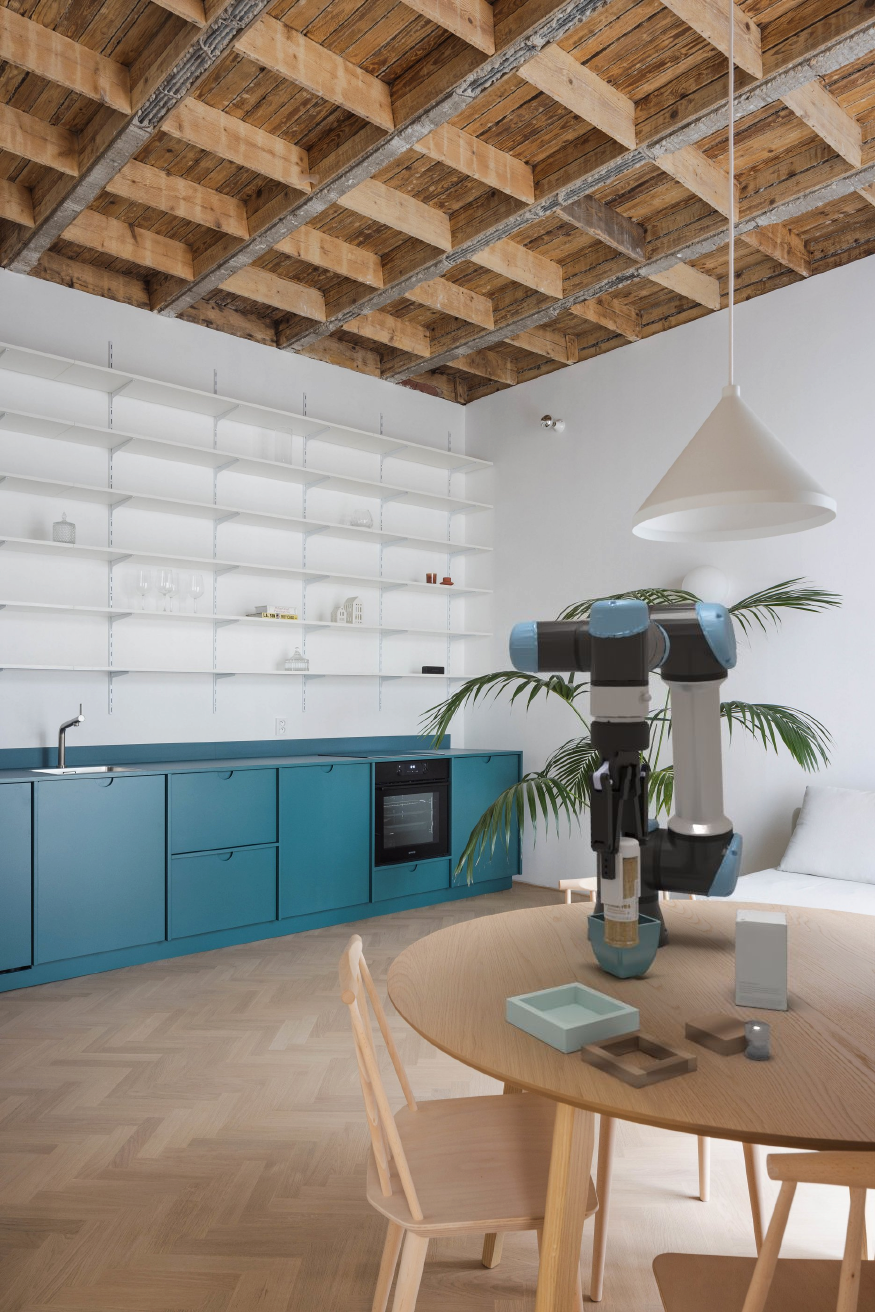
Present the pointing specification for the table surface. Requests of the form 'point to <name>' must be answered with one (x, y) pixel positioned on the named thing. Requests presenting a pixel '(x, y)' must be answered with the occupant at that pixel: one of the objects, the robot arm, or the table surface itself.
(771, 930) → the supplement box
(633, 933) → the sprinkles bottle
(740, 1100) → the table surface
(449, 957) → the table surface
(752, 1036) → the bench dog
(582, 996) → the tray
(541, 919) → the table surface
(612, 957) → the flower pot
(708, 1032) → the square wooden coaster
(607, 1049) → the socket block
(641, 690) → the robot arm
